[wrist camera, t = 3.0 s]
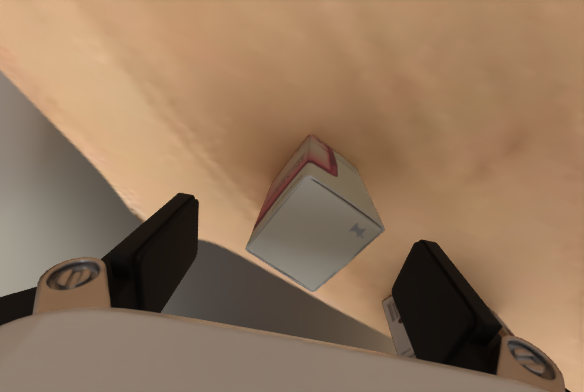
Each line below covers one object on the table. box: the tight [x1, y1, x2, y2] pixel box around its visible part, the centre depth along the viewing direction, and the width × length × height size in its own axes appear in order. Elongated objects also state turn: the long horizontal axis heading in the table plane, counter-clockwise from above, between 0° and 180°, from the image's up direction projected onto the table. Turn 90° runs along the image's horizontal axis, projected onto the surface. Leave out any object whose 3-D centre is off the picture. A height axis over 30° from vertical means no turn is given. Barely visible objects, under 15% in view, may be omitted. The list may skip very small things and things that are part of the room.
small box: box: [246, 135, 385, 292], centre depth 14 cm, size 5×4×8 cm
